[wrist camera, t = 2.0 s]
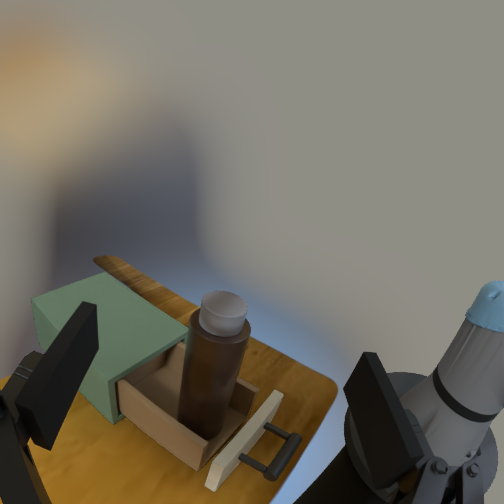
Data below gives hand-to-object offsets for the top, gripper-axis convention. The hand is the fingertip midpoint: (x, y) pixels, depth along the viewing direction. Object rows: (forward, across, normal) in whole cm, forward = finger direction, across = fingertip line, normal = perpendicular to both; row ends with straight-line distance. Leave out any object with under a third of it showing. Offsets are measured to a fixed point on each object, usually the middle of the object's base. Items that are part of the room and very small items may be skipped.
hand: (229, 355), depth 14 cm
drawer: (+10, 0, -20) cm, 22 cm away
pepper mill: (+10, 0, -19) cm, 21 cm away
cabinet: (+18, -13, -21) cm, 31 cm away
